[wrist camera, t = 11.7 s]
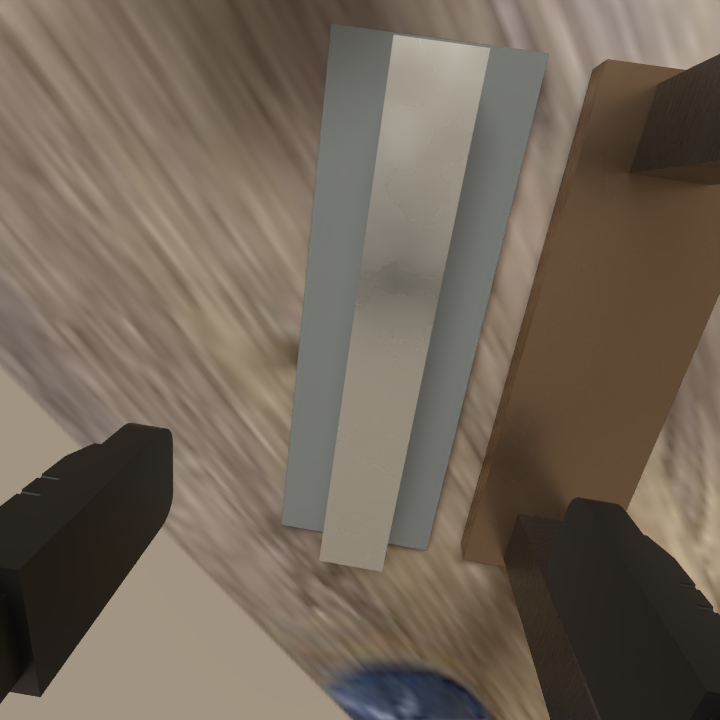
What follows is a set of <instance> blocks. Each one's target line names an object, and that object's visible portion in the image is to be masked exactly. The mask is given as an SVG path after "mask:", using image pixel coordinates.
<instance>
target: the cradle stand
mask: <svg viewBox="0 0 720 720" xmlns="http://www.w3.org/2000/svg"><path fill="white" fill-rule="evenodd" d="M719 294H720V54H719V55H717V56H715V57H713V58H710V59H708V60H706V61H704V62H702V63H700V64H698V65H696V66H694V67H692V68H690V69H688V70H682V69H674V68H667V67H660V66H653V65H645V64H638V63H631V62H623V61H616V60H609V59H607V60H606V61H604V62H603V63H601V64H600V65H599V66H597V67H596V68H594V69H593V72H592V75H591V79H590V82H589V86H588V90H587V93H586V97H585V100H584V104H583V108H582V111H581V115H580V118H579V122H578V125H577V129H576V133H575V136H574V140H573V143H572V147H571V150H570V154H569V158H568V161H567V165H566V168H565V172H564V176H563V179H562V183H561V186H560V190H559V193H558V197H557V201H556V204H555V208H554V211H553V215H552V219H551V222H550V226H549V229H548V233H547V236H546V240H545V244H544V247H543V251H542V254H541V258H540V262H539V265H538V269H537V272H536V276H535V279H534V283H533V287H532V290H531V294H530V297H529V301H528V305H527V308H526V312H525V315H524V319H523V322H522V326H521V330H520V333H519V337H518V340H517V344H516V348H515V351H514V355H513V358H512V362H511V365H510V369H509V373H508V376H507V380H506V383H505V387H504V391H503V394H502V398H501V401H500V405H499V408H498V412H497V416H496V419H495V423H494V426H493V430H492V434H491V437H490V441H489V444H488V448H487V451H486V455H485V459H484V462H483V466H482V469H481V473H480V477H479V480H478V484H477V487H476V491H475V494H474V498H473V502H472V505H471V509H470V512H469V516H468V520H467V523H466V527H465V530H464V534H463V537H462V541H461V547H462V553H463V558H464V560H468V561H473V562H479V563H484V564H490V565H496V566H501V567H506V570H507V573H508V577H509V580H510V583H511V587H512V590H513V594H514V597H515V601H516V604H517V607H518V611H519V614H520V618H521V621H522V624H523V628H524V631H525V635H526V638H527V641H528V645H529V648H530V652H531V655H532V658H533V662H534V665H535V669H536V672H537V676H538V679H539V682H540V686H541V689H542V693H543V696H544V699H545V703H546V706H547V710H548V713H549V716H550V720H601V718H600V715H599V713H598V710H597V708H596V705H595V703H594V701H593V698H592V696H591V693H590V691H589V688H588V686H587V683H586V681H585V678H584V676H583V673H582V671H581V668H580V666H579V663H578V661H577V658H576V656H575V653H574V651H573V648H572V646H571V644H570V641H569V639H568V636H567V634H566V631H565V629H564V626H563V624H562V621H561V619H560V616H559V614H558V611H557V609H556V606H555V604H554V601H553V599H552V596H551V594H550V591H549V587H548V582H547V563H548V558H549V555H550V552H551V550H552V547H553V545H554V542H555V539H556V537H557V534H558V531H559V529H560V526H561V523H562V521H563V518H564V516H565V513H566V510H567V508H568V505H569V504H570V502H571V501H572V500H573V499H574V498H577V497H580V498H586V499H592V500H598V501H604V502H610V503H616V504H619V505H620V506H622V507H623V509H624V510H625V511H626V510H627V508H628V506H629V503H630V501H631V499H632V496H633V494H634V492H635V489H636V487H637V485H638V482H639V480H640V478H641V475H642V473H643V471H644V468H645V466H646V464H647V461H648V459H649V457H650V454H651V452H652V450H653V447H654V445H655V443H656V440H657V438H658V436H659V433H660V431H661V429H662V426H663V424H664V422H665V419H666V417H667V415H668V412H669V410H670V408H671V405H672V403H673V401H674V398H675V396H676V394H677V391H678V389H679V387H680V385H681V382H682V380H683V378H684V375H685V373H686V371H687V368H688V366H689V364H690V361H691V359H692V357H693V354H694V352H695V350H696V347H697V345H698V343H699V340H700V338H701V336H702V333H703V331H704V329H705V326H706V324H707V322H708V319H709V317H710V315H711V312H712V310H713V308H714V305H715V303H716V301H717V298H718V296H719Z"/></svg>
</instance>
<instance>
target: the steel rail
mask: <svg viewBox="0 0 720 720" xmlns="http://www.w3.org/2000/svg"><path fill="white" fill-rule="evenodd" d="M489 53H490V48H486V47H479V46H472V45H465V44H457V43H450V42H443V41H436V40H429V39H421V38H414V37H407V36H400V35H394V36H393V43H392V50H391V57H390V64H389V71H388V78H387V85H386V92H385V99H384V106H383V114H382V121H381V128H380V135H379V142H378V149H377V156H376V163H375V170H374V177H373V184H372V191H371V198H370V205H369V213H368V220H367V227H366V234H365V241H364V248H363V255H362V262H361V269H360V276H359V283H358V290H357V297H356V304H355V312H354V319H353V326H352V333H351V340H350V347H349V354H348V361H347V368H346V375H345V382H344V389H343V396H342V403H341V410H340V418H339V425H338V432H337V439H336V446H335V453H334V460H333V467H332V474H331V481H330V488H329V495H328V502H327V509H326V517H325V524H324V531H323V538H322V545H321V552H320V559H319V561H325V562H330V563H336V564H341V565H347V566H352V567H358V568H363V569H369V570H374V571H380V572H382V569H383V564H384V560H385V555H386V550H387V545H388V540H389V535H390V531H391V526H392V521H393V516H394V511H395V507H396V502H397V497H398V492H399V487H400V482H401V478H402V473H403V468H404V463H405V458H406V453H407V449H408V444H409V439H410V434H411V429H412V424H413V420H414V415H415V410H416V405H417V400H418V395H419V391H420V386H421V381H422V376H423V371H424V367H425V362H426V357H427V352H428V347H429V342H430V338H431V333H432V328H433V323H434V318H435V313H436V309H437V304H438V299H439V294H440V289H441V284H442V280H443V275H444V270H445V265H446V260H447V256H448V251H449V246H450V241H451V236H452V231H453V227H454V222H455V217H456V212H457V207H458V202H459V198H460V193H461V188H462V183H463V178H464V173H465V169H466V164H467V159H468V154H469V149H470V144H471V140H472V135H473V130H474V125H475V120H476V116H477V111H478V106H479V101H480V96H481V91H482V87H483V82H484V77H485V72H486V67H487V62H488V58H489Z"/></svg>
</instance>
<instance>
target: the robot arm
mask: <svg viewBox="0 0 720 720" xmlns="http://www.w3.org/2000/svg"><path fill="white" fill-rule="evenodd" d="M172 498H173V439H172V434H171V432H170V430H169V429H165V428H159V427H153V426H147V425H141V424H135V423H128V424H126V425H124V426H123V427H122V428H120V429H119V430H118V431H117V432H116V433H114V434H113V435H112V436H111V437H110V438H108V439H107V440H106V441H105V442H103V443H102V444H96V443H94V444H92V445H90V446H87V447H85V448H83V449H81V450H78V451H76V452H74V453H72V454H69V455H67V456H65V457H64V458H62V459H61V460H60V461H58V462H57V463H56V464H54V465H53V466H52V467H51V468H49V469H48V470H47V471H45V472H44V473H43V474H42V476H41V478H36V479H35V480H34V481H33V482H31V483H30V484H29V485H27V486H26V487H25V488H23V489H22V492H21V494H16V495H14V496H13V497H12V498H11V499H9V500H8V501H7V502H5V503H4V504H3V505H1V506H0V703H1V702H2V701H3V699H4V698H5V697H6V696H7V694H8V693H9V692H14V693H20V694H25V695H31V696H37V697H41V696H42V694H43V693H44V691H45V690H46V688H47V687H48V686H49V684H50V683H51V681H52V680H53V679H54V677H55V676H56V674H57V673H58V672H59V670H60V669H61V667H62V666H63V665H64V663H65V662H66V660H67V659H68V658H69V656H70V655H71V653H72V652H73V651H74V649H75V648H76V646H77V645H78V644H79V642H80V641H81V639H82V638H83V637H84V635H85V634H86V632H87V631H88V630H89V628H90V627H91V625H92V624H93V622H94V621H95V620H96V618H97V617H98V616H99V614H100V613H101V611H102V610H103V609H104V607H105V606H106V604H107V603H108V602H109V600H110V599H111V597H112V596H113V595H114V593H115V592H116V590H117V589H118V587H119V586H120V585H121V583H122V582H123V580H124V579H125V578H126V576H127V575H128V573H129V572H130V571H131V569H132V568H133V566H134V565H135V564H136V562H137V561H138V559H139V558H140V556H141V555H142V554H143V552H144V551H145V550H146V548H147V547H148V545H149V544H150V543H151V541H152V540H153V538H154V537H155V536H156V534H157V533H158V531H159V530H160V529H161V527H162V526H163V524H164V522H165V520H166V518H167V516H168V513H169V511H170V507H171V504H172ZM547 582H548V587H549V591H550V594H551V596H552V599H553V601H554V604H555V606H556V609H557V611H558V614H559V616H560V619H561V621H562V624H563V626H564V629H565V631H566V634H567V636H568V639H569V641H570V644H571V646H572V648H573V651H574V653H575V656H576V658H577V661H578V663H579V666H580V668H581V671H582V673H583V676H584V678H585V681H586V683H587V686H588V688H589V691H590V693H591V696H592V698H593V701H594V703H595V705H596V708H597V710H598V713H599V715H600V718H601V720H720V615H719V614H718V613H714V611H713V606H712V605H711V604H710V602H709V601H708V600H707V599H706V597H705V596H704V595H703V594H702V592H701V591H700V590H696V588H695V583H694V582H693V581H692V580H691V578H690V577H689V576H688V575H687V573H686V572H685V571H684V570H683V568H682V567H681V566H680V565H679V563H678V562H677V561H676V559H675V558H673V557H672V556H671V555H670V554H669V553H667V552H666V551H665V550H664V549H662V548H661V547H660V546H659V545H658V544H656V543H655V542H654V541H653V540H652V539H650V538H649V537H648V536H646V535H643V534H642V532H641V531H640V530H639V528H638V527H637V526H636V524H635V523H634V522H633V520H632V519H631V518H630V516H629V515H628V514H627V512H626V511H625V510H624V509H623V507H622V506H620V505H619V504H616V503H610V502H604V501H598V500H592V499H586V498H580V497H577V498H574V499H573V500H572V501H571V502H570V504H569V505H568V508H567V510H566V513H565V516H564V518H563V521H562V523H561V526H560V529H559V531H558V534H557V537H556V539H555V542H554V545H553V547H552V550H551V552H550V555H549V558H548V563H547Z"/></svg>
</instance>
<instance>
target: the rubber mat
mask: <svg viewBox="0 0 720 720" xmlns="http://www.w3.org/2000/svg"><path fill="white" fill-rule="evenodd" d="M394 35H400V36H407V37H414V38H421V39H429V40H436V41H443V42H450V43H457V44H465V45H472V46H479V47H486V48H490V53H489V58H488V62H487V67H486V72H485V77H484V82H483V87H482V91H481V96H480V101H479V106H478V111H477V116H476V120H475V125H474V130H473V135H472V140H471V144H470V149H469V154H468V159H467V164H466V169H465V173H464V178H463V183H462V188H461V193H460V198H459V202H458V207H457V212H456V217H455V222H454V227H453V231H452V236H451V241H450V246H449V251H448V256H447V260H446V265H445V270H444V275H443V280H442V284H441V289H440V294H439V299H438V304H437V309H436V313H435V318H434V323H433V328H432V333H431V338H430V342H429V347H428V352H427V357H426V362H425V367H424V371H423V376H422V381H421V386H420V391H419V395H418V400H417V405H416V410H415V415H414V420H413V424H412V429H411V434H410V439H409V444H408V449H407V453H406V458H405V463H404V468H403V473H402V478H401V482H400V487H399V492H398V497H397V502H396V507H395V511H394V516H393V521H392V526H391V531H390V535H389V540H388V544H393V545H399V546H404V547H410V548H416V549H421V550H427V546H428V542H429V538H430V534H431V530H432V526H433V522H434V518H435V514H436V510H437V506H438V502H439V498H440V494H441V490H442V486H443V481H444V477H445V473H446V469H447V465H448V461H449V457H450V453H451V449H452V445H453V441H454V437H455V433H456V429H457V425H458V421H459V417H460V413H461V409H462V404H463V400H464V396H465V392H466V388H467V384H468V380H469V376H470V372H471V368H472V364H473V360H474V356H475V352H476V348H477V344H478V340H479V336H480V332H481V327H482V323H483V319H484V315H485V311H486V307H487V303H488V299H489V295H490V291H491V287H492V283H493V279H494V275H495V271H496V267H497V263H498V259H499V255H500V250H501V246H502V242H503V238H504V234H505V230H506V226H507V222H508V218H509V214H510V210H511V206H512V202H513V198H514V194H515V190H516V186H517V182H518V177H519V173H520V169H521V165H522V161H523V157H524V153H525V149H526V145H527V141H528V137H529V133H530V129H531V125H532V121H533V117H534V113H535V109H536V105H537V100H538V96H539V92H540V88H541V84H542V80H543V76H544V72H545V68H546V64H547V60H548V56H549V53H543V52H535V51H528V50H521V49H514V48H506V47H499V46H492V45H484V44H477V43H470V42H463V41H455V40H448V39H441V38H434V37H426V36H419V35H412V34H405V33H397V32H390V31H383V30H375V29H368V28H361V27H354V26H346V25H339V24H332V23H331V32H330V42H329V52H328V62H327V72H326V82H325V92H324V102H323V112H322V122H321V133H320V143H319V153H318V163H317V173H316V183H315V193H314V203H313V213H312V223H311V233H310V243H309V253H308V264H307V274H306V284H305V294H304V304H303V314H302V324H301V334H300V344H299V354H298V364H297V374H296V385H295V395H294V405H293V415H292V425H291V435H290V445H289V455H288V465H287V475H286V485H285V495H284V505H283V516H282V525H287V526H292V527H298V528H303V529H309V530H315V531H320V532H323V531H324V524H325V517H326V509H327V502H328V495H329V488H330V481H331V474H332V467H333V460H334V453H335V446H336V439H337V432H338V425H339V418H340V410H341V403H342V396H343V389H344V382H345V375H346V368H347V361H348V354H349V347H350V340H351V333H352V326H353V319H354V312H355V304H356V297H357V290H358V283H359V276H360V269H361V262H362V255H363V248H364V241H365V234H366V227H367V220H368V213H369V205H370V198H371V191H372V184H373V177H374V170H375V163H376V156H377V149H378V142H379V135H380V128H381V121H382V114H383V106H384V99H385V92H386V85H387V78H388V71H389V64H390V57H391V50H392V43H393V36H394Z"/></svg>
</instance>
